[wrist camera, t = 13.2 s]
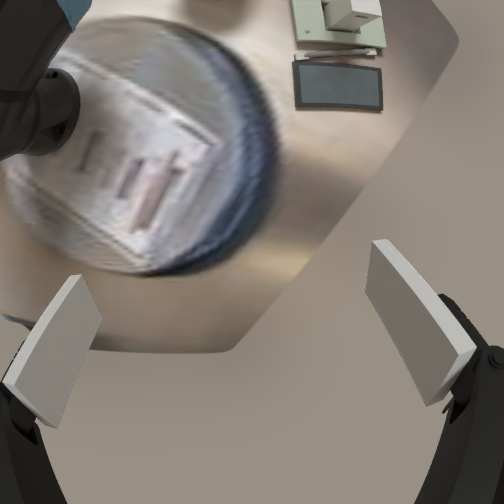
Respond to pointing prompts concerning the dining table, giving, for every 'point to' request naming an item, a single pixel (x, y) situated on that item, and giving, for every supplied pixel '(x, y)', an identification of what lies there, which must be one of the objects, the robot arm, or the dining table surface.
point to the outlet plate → (313, 30)
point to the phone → (337, 85)
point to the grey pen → (334, 53)
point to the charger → (351, 13)
